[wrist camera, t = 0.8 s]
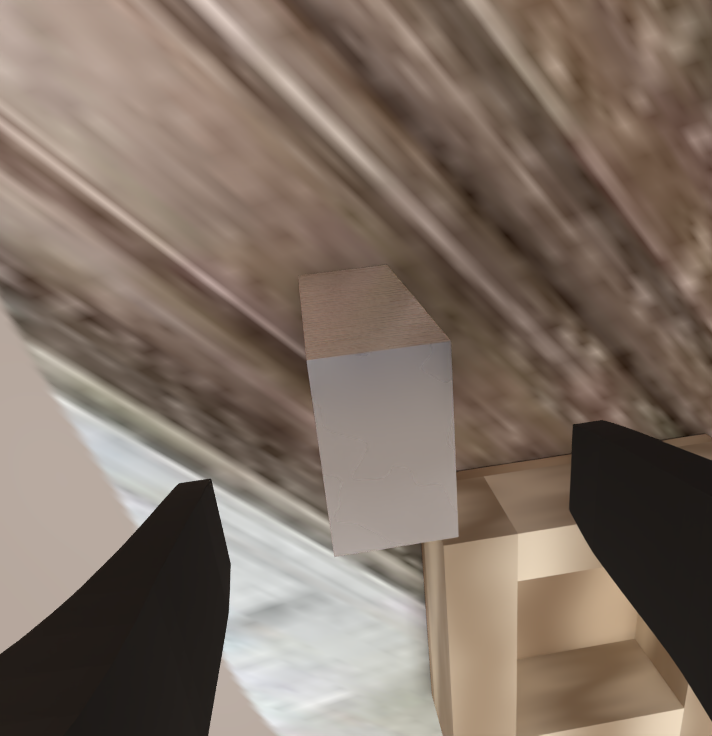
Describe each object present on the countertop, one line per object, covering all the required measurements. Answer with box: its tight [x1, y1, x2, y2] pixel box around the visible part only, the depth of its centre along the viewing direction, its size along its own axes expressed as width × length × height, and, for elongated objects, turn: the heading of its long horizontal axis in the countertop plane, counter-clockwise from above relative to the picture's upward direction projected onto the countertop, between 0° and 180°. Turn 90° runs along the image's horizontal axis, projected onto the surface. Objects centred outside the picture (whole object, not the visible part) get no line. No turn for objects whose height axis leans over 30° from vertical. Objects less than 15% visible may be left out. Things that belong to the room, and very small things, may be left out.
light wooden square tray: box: [421, 434, 712, 736], centre depth 23 cm, size 12×12×4 cm
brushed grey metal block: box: [298, 265, 459, 557], centre depth 16 cm, size 3×5×8 cm, turn 6°
